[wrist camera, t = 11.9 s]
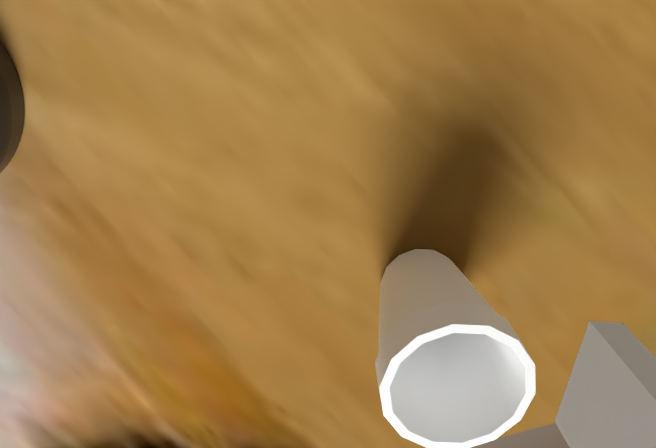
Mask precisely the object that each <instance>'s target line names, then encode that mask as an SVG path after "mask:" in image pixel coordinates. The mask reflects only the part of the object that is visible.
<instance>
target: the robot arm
mask: <svg viewBox="0 0 656 448" xmlns="http://www.w3.org/2000/svg"><path fill="white" fill-rule="evenodd" d="M23 124H24V102H23V95H22V90H21V86H20V82H19V79H18V76H17V73H16V70H15V68H14V66H13V63H12V61H11V59H10V57H9V55H8V53H7V52H6V50H5V48H4V47H3V45H2V43H1V42H0V173H1V172H2V171H3V169H4V168H5V167H6V166H7V165H8V163H9V162H10V161H11V159H12V157H13V156H14V154H15V152H16V150H17V148H18V145H19V142H20V139H21V135H22V131H23ZM555 422H556V424H557V426H558V428H559V429H560V431H561V433H562V435H563V436H564V438H565V440H566V442H567V443H568V445H569V447H570V448H656V358H655V357H654V356H653V355H652V354H651V353H650V352H649V351H648V349H647V348H646V347H645V346H644V345H643V344H642V343H641V342H640V341H639V340H638V339H637V338H636V336H635V335H634V334H633V333H632V332H631V331H630V330H629V329H628V328H627V327H626V326H625V324H624V323H611V322H597V321H589V324H588V327H587V330H586V333H585V335H584V338H583V341H582V344H581V347H580V350H579V353H578V356H577V359H576V361H575V364H574V367H573V370H572V373H571V376H570V379H569V382H568V384H567V387H566V390H565V393H564V396H563V399H562V402H561V405H560V408H559V410H558V413H557V416H556V419H555Z"/></svg>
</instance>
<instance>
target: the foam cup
mask: <svg viewBox="0 0 656 448" xmlns="http://www.w3.org/2000/svg"><path fill="white" fill-rule="evenodd" d="M375 365H376V372H377V379H378V386H379V392H380V398H381V404H382V410H383V415H384V416H385V418H386V419H387V420H388V421H389V422H390V424H391V425H392V426H393V427H394V428H395V429H396V431H397V432H398V433H399V434H400V435H401V437H403V438H406V439H408V440H410V441H413V442H415V443H417V444H420V445H422V446H424V447H426V448H470V447H474V446H476V445H480V444H483V443H486V442H489V441H493V440H495V439H497V438H498V437H499V436H501V435H502V434H503V433H504V432H506V431H507V430H508V429H510V428H511V427H512V426H513V425H515V424H516V423H517V422H519V421H520V420H521V419H522V417H523V415H524V413H525V411H526V410H527V408H528V406H529V404H530V402H531V400H532V399H533V397H534V395H535V364H534V362H533V361H532V359H531V357H530V356H529V354H528V352H527V350H526V349H525V347H524V345H523V343H522V342H521V340H520V339H519V337H518V336H517V334H516V333H515V331H514V330H513V328H512V327H511V325H510V324H509V322H508V321H507V319H506V318H504V317H502V316H500V315H498V314H497V312H496V311H495V310H494V309H493V308H492V307H491V305H490V304H489V303H488V302H487V301H486V300H485V299H484V297H483V296H482V295H481V294H480V293H479V292H478V291H477V289H476V288H475V287H474V286H473V285H472V284H471V283H470V281H469V280H468V279H467V278H466V277H465V276H464V274H463V273H462V272H461V271H460V270H459V269H458V268H457V266H456V265H455V264H454V263H453V262H452V261H451V260H450V259H449V258H448V257H447V256H445V255H443V254H441V253H439V252H437V251H435V250H428V249H414V250H411V251H409V252H406V253H403V254H401V255H399V256H397V257H396V258H395V259H394V260H393V261H392V262H391V263H390V264H389V265H388V266H387V267H386V269H385V272H384V274H383V277H382V280H381V285H380V316H379V354H378V357H377V360H376V362H375Z"/></svg>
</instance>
